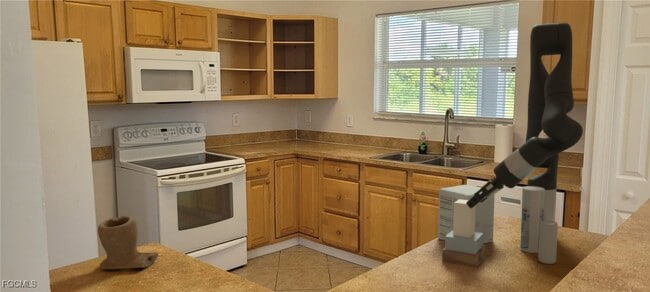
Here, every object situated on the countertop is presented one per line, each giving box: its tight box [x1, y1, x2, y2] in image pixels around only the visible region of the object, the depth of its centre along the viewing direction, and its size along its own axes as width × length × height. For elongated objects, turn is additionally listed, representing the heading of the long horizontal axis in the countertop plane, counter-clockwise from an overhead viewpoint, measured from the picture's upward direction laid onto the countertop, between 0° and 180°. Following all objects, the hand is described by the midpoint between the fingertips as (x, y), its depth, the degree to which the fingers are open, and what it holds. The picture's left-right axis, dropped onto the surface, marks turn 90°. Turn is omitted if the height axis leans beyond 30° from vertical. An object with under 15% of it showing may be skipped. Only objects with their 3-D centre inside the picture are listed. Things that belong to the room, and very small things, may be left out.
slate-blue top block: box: [444, 230, 484, 254], centre depth 152 cm, size 9×9×4 cm
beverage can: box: [537, 220, 559, 265], centre depth 150 cm, size 5×5×12 cm
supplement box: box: [437, 184, 496, 245], centre depth 171 cm, size 13×13×18 cm
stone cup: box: [97, 215, 159, 270], centre depth 147 cm, size 15×12×15 cm
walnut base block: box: [441, 245, 486, 268], centre depth 153 cm, size 10×10×4 cm
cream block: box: [453, 199, 476, 238], centre depth 152 cm, size 5×5×10 cm
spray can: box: [519, 185, 545, 254], centre depth 160 cm, size 6×6×20 cm
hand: (473, 202), depth 150 cm, fingers open, 8 cm apart
